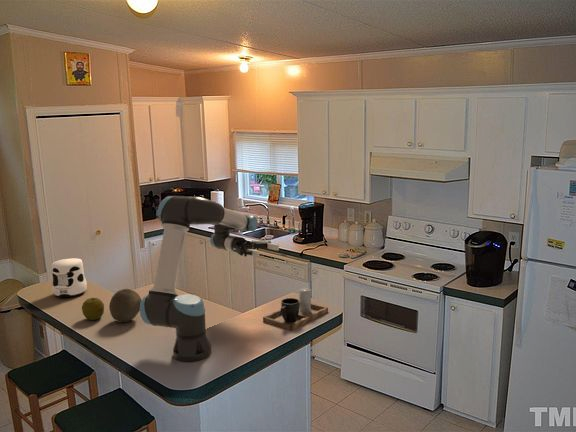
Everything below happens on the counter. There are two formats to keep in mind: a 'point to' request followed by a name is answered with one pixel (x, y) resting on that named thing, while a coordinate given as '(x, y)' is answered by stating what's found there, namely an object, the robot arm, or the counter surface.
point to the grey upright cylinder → (305, 300)
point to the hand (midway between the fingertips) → (268, 250)
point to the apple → (93, 308)
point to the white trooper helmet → (68, 277)
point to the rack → (302, 316)
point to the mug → (290, 309)
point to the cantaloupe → (125, 305)
